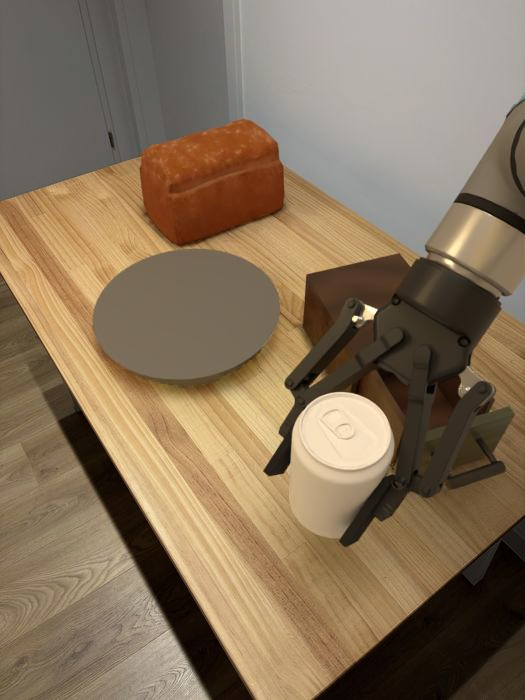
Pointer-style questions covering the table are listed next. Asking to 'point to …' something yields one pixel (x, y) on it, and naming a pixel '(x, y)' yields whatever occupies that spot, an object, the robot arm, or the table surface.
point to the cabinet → (345, 282)
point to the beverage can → (337, 460)
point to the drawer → (440, 424)
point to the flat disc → (186, 316)
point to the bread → (211, 180)
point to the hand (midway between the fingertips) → (309, 505)
